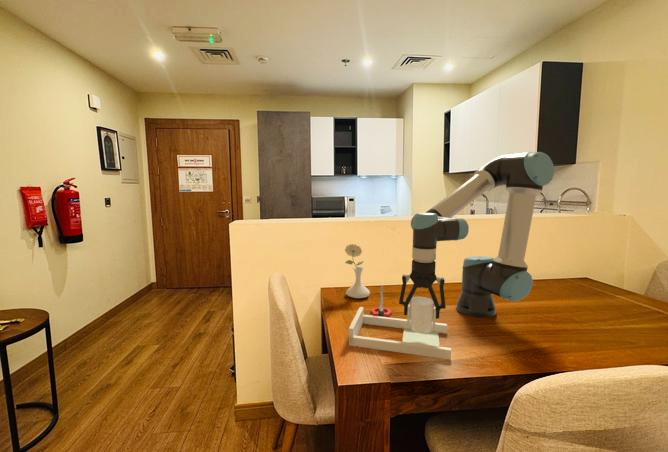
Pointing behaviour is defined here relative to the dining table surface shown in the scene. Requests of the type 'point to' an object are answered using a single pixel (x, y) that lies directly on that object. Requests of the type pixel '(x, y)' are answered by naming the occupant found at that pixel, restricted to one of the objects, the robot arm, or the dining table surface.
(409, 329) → the bay
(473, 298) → the robot arm
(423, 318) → the white cup
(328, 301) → the dining table surface
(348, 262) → the flower in vase
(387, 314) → the red ring on peg
